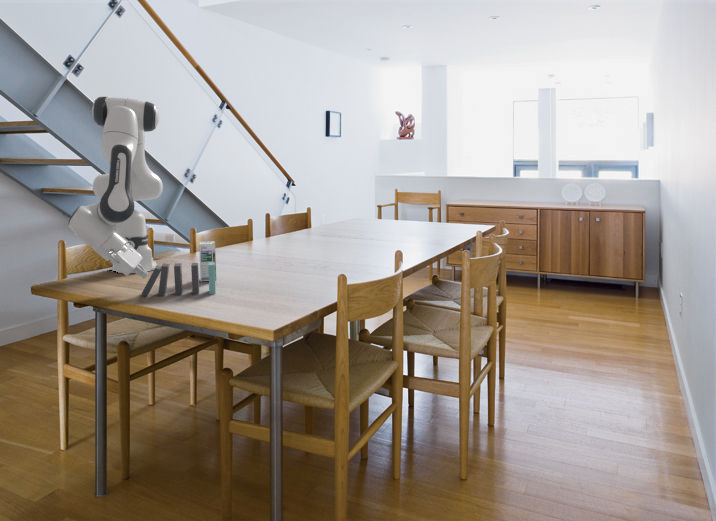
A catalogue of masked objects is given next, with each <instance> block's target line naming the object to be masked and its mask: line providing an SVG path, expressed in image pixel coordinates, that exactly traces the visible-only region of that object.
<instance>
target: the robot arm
mask: <svg viewBox="0 0 716 521" xmlns="http://www.w3.org/2000/svg"><path fill="white" fill-rule="evenodd" d="M91 109H92V110H91V113H92V117H93V121H94V122H95V123H96V124H97V125H98V126H101V127H103V130H102V137H101V138H102V139H101V149H102V155H103V157H104V158H105V159H106V160H107V161H108V162H109V163H108V164H109V173H108V172H107V173H103V174H98V175H97V176H96V177H95V178H94V179H93V183H92V191H93V194H94V195H95V197H96V198H97V199H98V200H99V201H98V202H95V203H93V204H87V205H80V206H78V207H77V208H76V209H75V210H74V212H73V213H72V214H71V216H70V217H69V220H68V227H69V229H70V230H71V231H72V232H73V234H74V235H76V236H77V237H78V238H79V239H80V240H81V241H82V242H83V243H85V244H87V245H89V246H90V247H91V248H92V249H93V251H95V253H96V254H98V255H100V257H102V258H103V260H105V261H106V262H108V261H109V262H110V263H111V264H112V266H111V267H109V268H108V271H109V270H114V271H116V272H115V273H117V272H118V273H119V274H123V275H125V276H126V277H127V276H129V275H130V274H136V275H138V276H140V277H141V278H142V279H146V278H147V277H148V275H149V272H150V271H154V269H155V267H156V266H157V265H158V264H157V262H156V261H155V258H154V257H153V251H152V249H151V247H149V245H148V244H149V237H148V234H147V224H146V223H147V222H146V216H145V215H144V214H143V213H142V212H140V211H139V210H137V209H136V208H135V201H136V202H137V201H150V200H155V199H158V198H159V197H161V195H162V193H163V191H164V190H163V189H164V184H163V182H162V179H161V177H160V176H158V175H157V173H154V172H153V171H152V169H150V167H149V165H148V164H147V161H146V153H145V151H146V149H145V143H146V142H145V133H146V132H154V130H155V129H156V128H157V126H158V124H159V121H160V113H159V110H158V107H157V105H156V104H154V103H153V102H150V101H142V100H138V99H135V98H130V97H129V98H124V97H109V96H99V97H97V98H96V99H95V100H94V102H93V104H92V108H91Z"/></svg>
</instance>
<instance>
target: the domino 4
mask: <svg viewBox="0 0 716 521" xmlns="http://www.w3.org/2000/svg"><path fill="white" fill-rule="evenodd" d="M190 270H191V289H192V290H191V292H192V296H193V294H199V295H200V278H199V276H200V275H199V274H200V273H199V272H200V269H199V262H192V263H191V269H190Z"/></svg>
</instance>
